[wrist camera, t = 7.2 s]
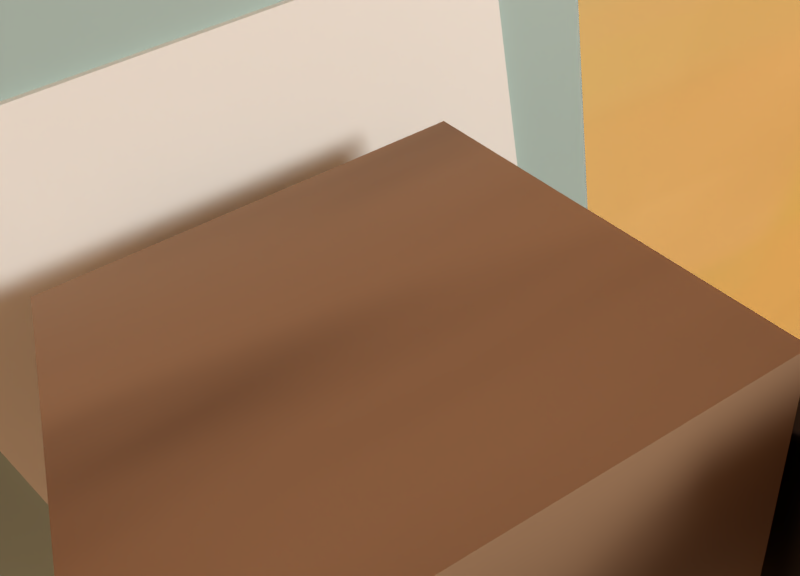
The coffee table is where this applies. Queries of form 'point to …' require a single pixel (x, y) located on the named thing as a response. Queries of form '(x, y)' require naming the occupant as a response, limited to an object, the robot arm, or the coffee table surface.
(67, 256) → the base slab
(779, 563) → the robot arm
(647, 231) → the coffee table surface
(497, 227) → the walnut cube
